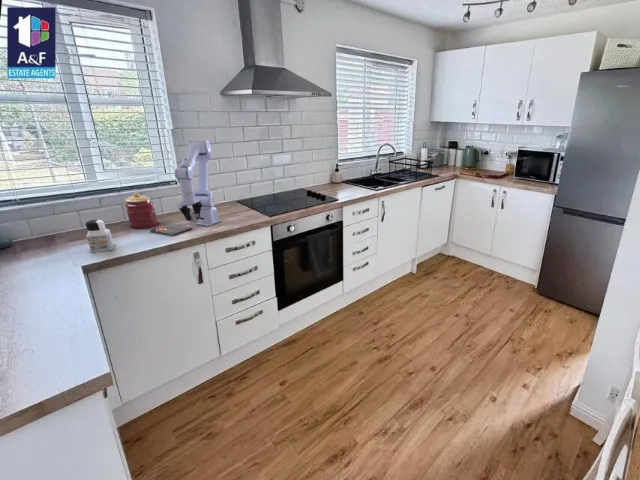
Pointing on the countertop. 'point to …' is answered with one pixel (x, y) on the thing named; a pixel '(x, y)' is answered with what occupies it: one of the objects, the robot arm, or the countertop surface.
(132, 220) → the kitchen canister
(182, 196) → the robot arm
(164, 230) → the dark grey flat slab
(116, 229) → the countertop surface
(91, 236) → the container
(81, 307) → the countertop surface
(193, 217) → the wok
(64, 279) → the countertop surface
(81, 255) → the countertop surface
